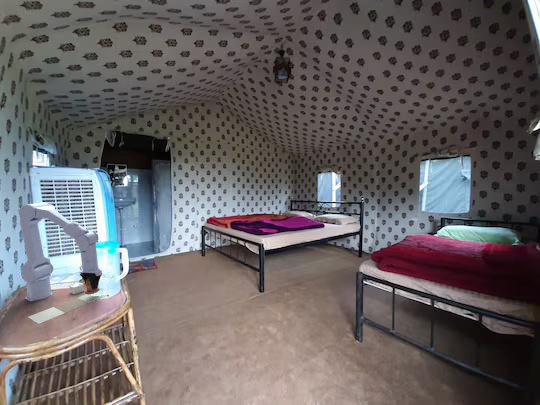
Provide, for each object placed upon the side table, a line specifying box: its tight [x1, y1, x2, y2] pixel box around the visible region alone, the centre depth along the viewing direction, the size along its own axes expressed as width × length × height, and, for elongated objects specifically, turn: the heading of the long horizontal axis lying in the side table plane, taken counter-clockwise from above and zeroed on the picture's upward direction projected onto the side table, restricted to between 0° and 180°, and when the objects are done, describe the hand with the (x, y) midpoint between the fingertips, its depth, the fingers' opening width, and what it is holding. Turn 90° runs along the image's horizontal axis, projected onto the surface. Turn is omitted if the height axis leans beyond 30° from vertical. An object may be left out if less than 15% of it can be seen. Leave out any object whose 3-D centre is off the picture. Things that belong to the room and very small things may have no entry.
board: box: [27, 293, 110, 325], centre depth 106 cm, size 10×25×1 cm, turn 152°
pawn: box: [84, 279, 100, 295], centre depth 113 cm, size 5×5×6 cm
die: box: [69, 282, 85, 295], centre depth 118 cm, size 4×4×4 cm
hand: (92, 287), depth 113 cm, fingers closed on pawn, 4 cm apart
